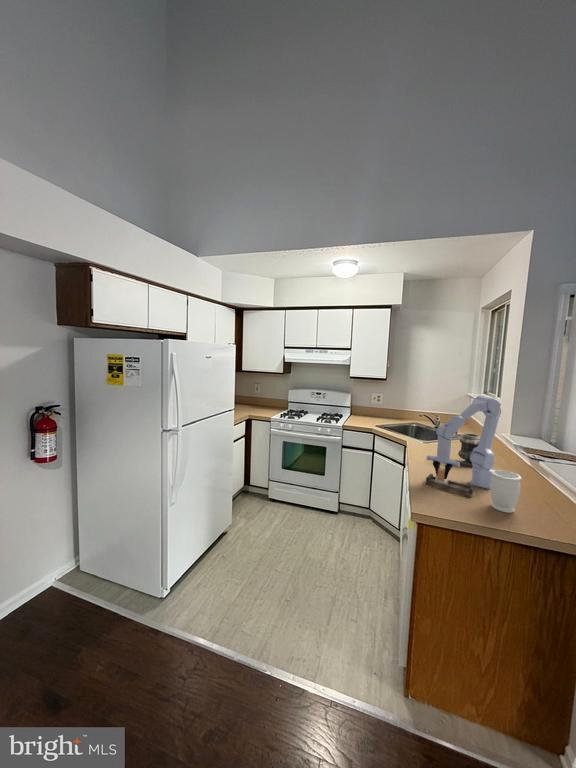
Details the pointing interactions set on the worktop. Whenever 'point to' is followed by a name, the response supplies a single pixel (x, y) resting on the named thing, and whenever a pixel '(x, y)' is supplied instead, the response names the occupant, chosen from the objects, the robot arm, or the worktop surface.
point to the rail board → (451, 486)
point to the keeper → (441, 476)
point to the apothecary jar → (468, 447)
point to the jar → (504, 490)
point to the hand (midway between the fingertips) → (441, 477)
